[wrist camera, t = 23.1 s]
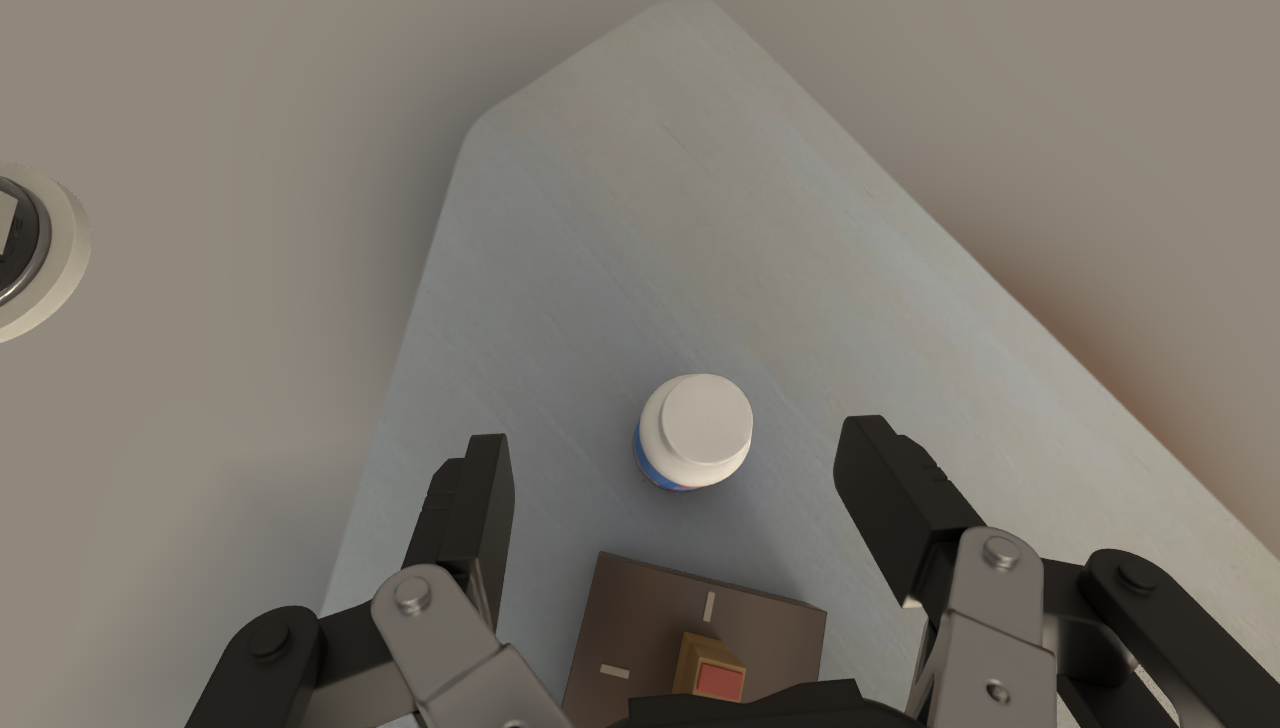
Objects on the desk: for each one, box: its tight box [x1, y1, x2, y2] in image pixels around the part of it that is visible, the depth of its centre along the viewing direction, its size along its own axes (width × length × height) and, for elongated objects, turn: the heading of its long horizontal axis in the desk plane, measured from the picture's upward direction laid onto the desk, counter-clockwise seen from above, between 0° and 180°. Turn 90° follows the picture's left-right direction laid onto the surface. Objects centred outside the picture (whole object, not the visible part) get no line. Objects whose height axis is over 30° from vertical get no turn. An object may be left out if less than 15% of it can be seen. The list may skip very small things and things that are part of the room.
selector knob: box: [671, 632, 746, 703], centre depth 25 cm, size 5×2×5 cm, turn 166°
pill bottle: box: [633, 374, 753, 492], centre depth 28 cm, size 6×5×10 cm
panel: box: [561, 551, 827, 728], centre depth 29 cm, size 12×10×3 cm
